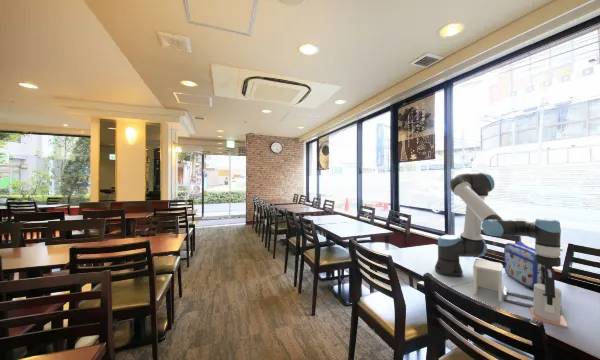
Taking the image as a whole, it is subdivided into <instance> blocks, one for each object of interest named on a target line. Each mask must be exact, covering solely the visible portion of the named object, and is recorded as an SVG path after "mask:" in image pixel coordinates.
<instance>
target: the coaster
mask: <svg viewBox="0 0 600 360" xmlns="http://www.w3.org/2000/svg"><path fill="white" fill-rule="evenodd" d="M529 309H530V312H531V316H532V320H536V321H539V322H543V323H547V324H550V323H551V324H552V325H554V326H558V327H562V328H565V329H568V327H569V326H568V324H567V322H566V319H565V317H564V315H562V314H561V315H560V321H551V320H547V319H544V318H542V317H539V316H537V315H536V314H534V313H533V308H532V307H529ZM551 324H550V325H551Z"/></svg>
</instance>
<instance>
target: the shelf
mask: <svg viewBox="0 0 600 360" xmlns="http://www.w3.org/2000/svg"><path fill="white" fill-rule="evenodd" d="M473 263H474V264H473V265H472V266H473V267H472V268H473V286H472V288H473V295H475V296H477V294H478V289H479V288H484V289H488V290H491V291H492V290H493V291H495V292H498V302H503V295H502V294H503V286H502V285H503V275H502V274H503V271H502V270H503V262H502V263H501V262H496V261H491V260H486V259H479V258H475V259H474V262H473Z"/></svg>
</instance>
